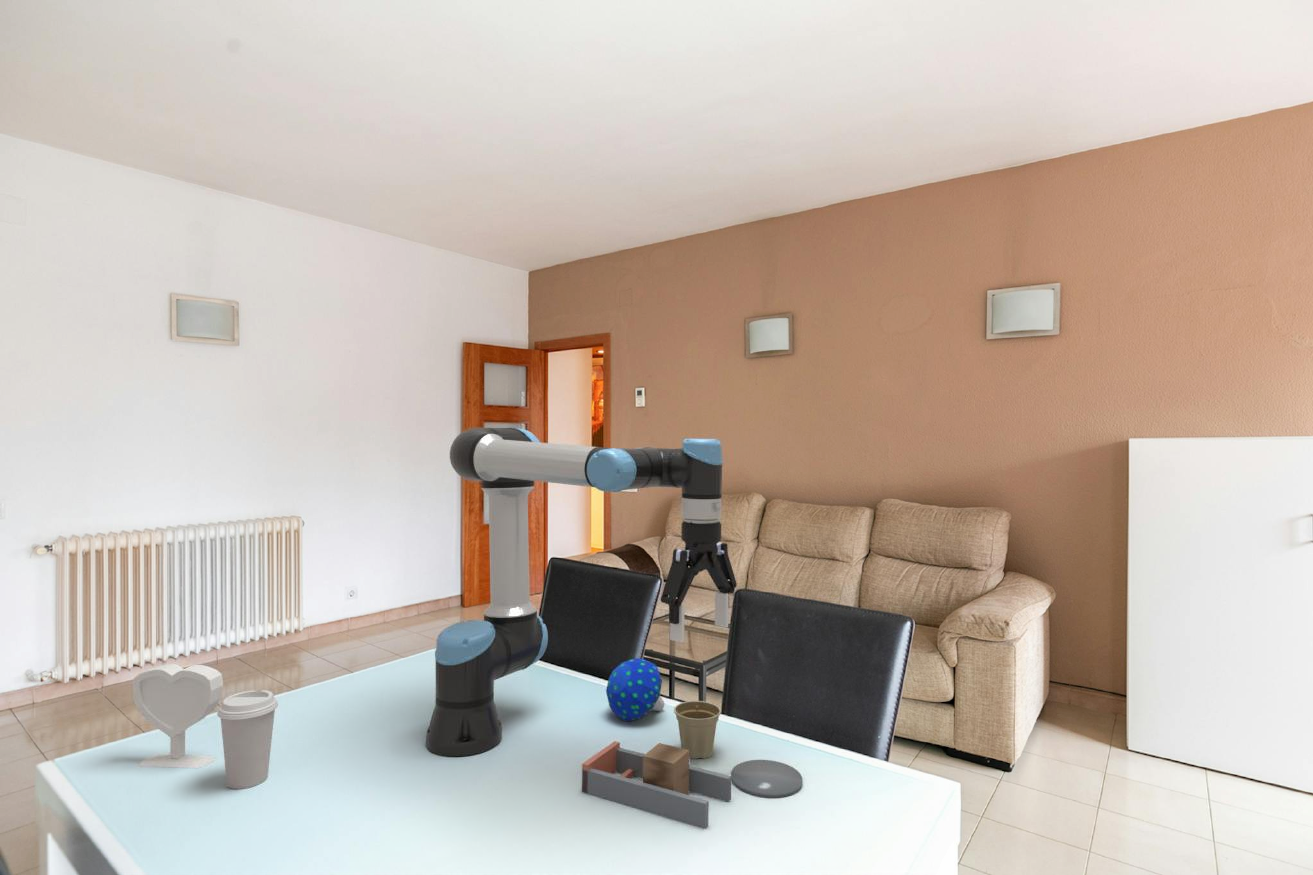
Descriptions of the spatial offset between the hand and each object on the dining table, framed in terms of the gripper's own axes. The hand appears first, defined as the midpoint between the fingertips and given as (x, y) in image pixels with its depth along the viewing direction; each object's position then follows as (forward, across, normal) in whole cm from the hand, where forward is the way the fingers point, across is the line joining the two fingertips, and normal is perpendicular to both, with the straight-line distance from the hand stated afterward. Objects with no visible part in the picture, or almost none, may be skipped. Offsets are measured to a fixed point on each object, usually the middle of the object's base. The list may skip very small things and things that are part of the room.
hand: (700, 633), depth 134 cm
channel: (+26, -12, 0) cm, 29 cm away
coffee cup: (+26, -58, +59) cm, 86 cm away
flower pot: (+26, +6, +5) cm, 28 cm away
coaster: (+26, +6, -11) cm, 29 cm away
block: (+26, -11, -2) cm, 29 cm away
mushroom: (+26, +12, +27) cm, 40 cm away
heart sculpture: (+27, -64, +77) cm, 103 cm away
